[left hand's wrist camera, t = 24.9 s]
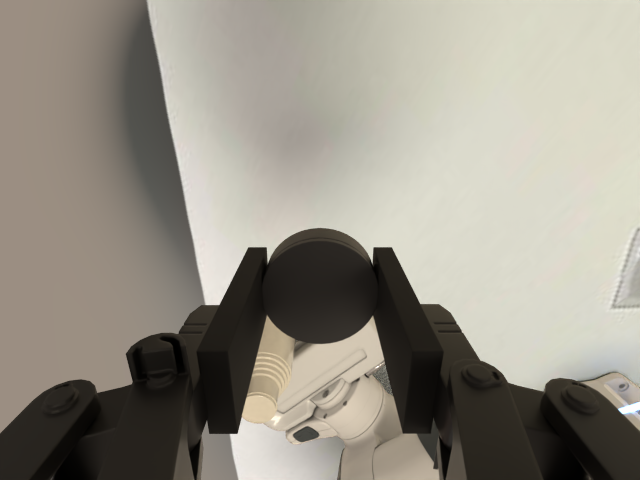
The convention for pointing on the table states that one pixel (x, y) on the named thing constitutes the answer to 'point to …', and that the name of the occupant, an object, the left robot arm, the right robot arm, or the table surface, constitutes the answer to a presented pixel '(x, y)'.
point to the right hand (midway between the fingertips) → (268, 326)
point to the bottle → (269, 374)
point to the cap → (320, 286)
